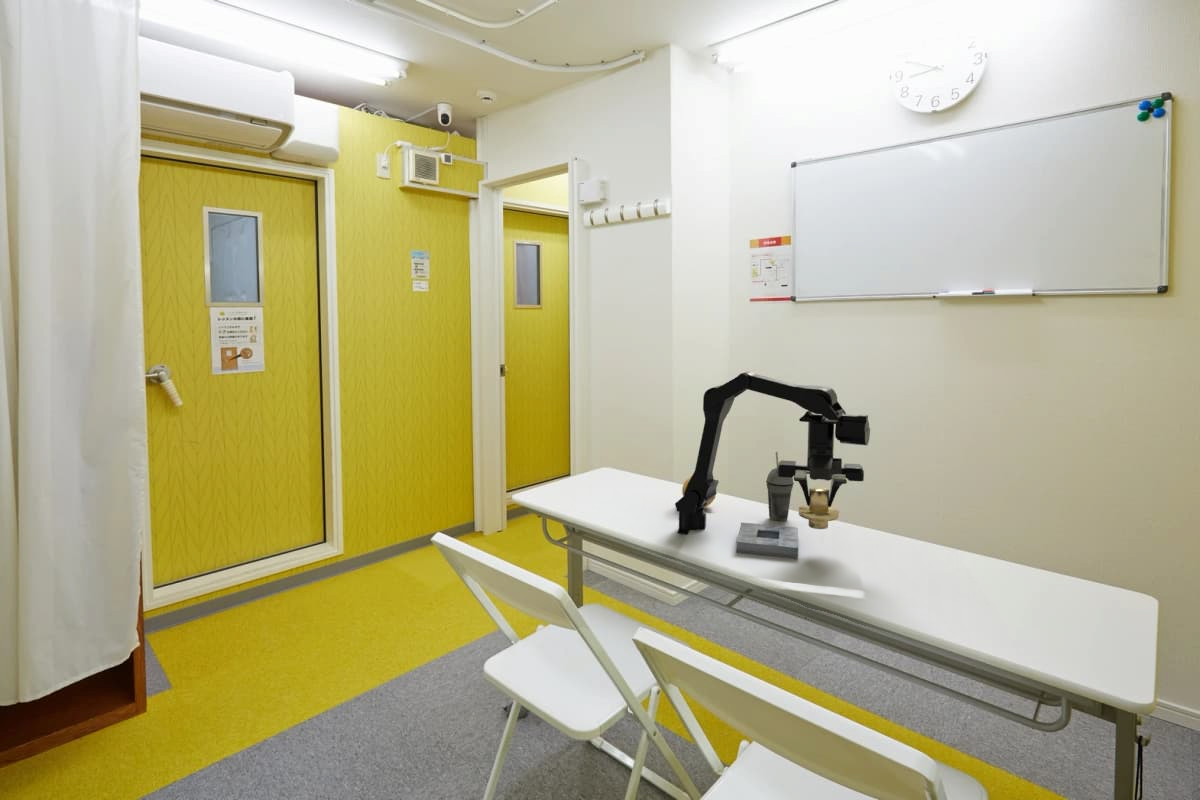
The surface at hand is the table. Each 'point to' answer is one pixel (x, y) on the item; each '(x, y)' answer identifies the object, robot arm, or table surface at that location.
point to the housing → (768, 540)
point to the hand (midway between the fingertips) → (818, 506)
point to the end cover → (818, 509)
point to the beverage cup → (778, 494)
